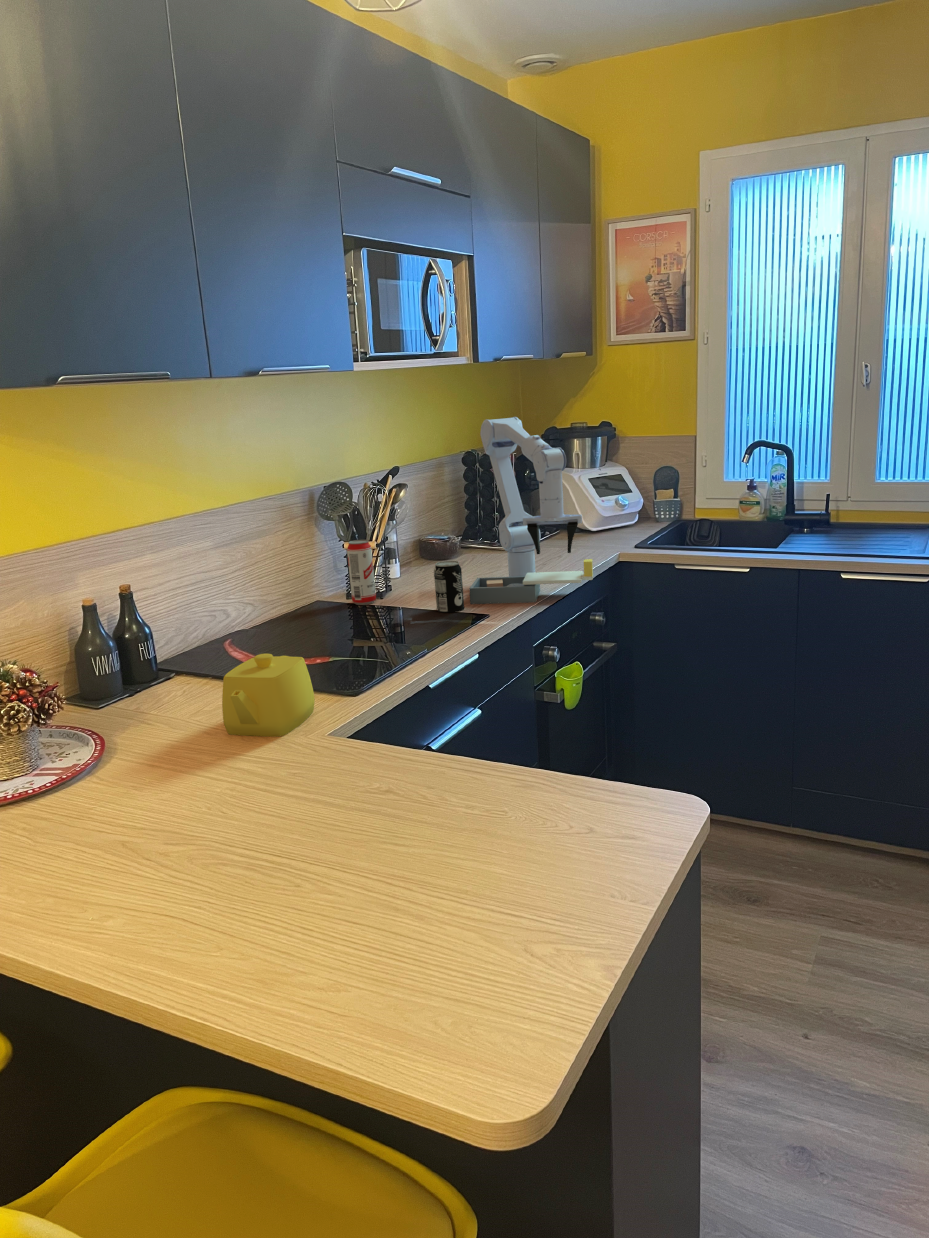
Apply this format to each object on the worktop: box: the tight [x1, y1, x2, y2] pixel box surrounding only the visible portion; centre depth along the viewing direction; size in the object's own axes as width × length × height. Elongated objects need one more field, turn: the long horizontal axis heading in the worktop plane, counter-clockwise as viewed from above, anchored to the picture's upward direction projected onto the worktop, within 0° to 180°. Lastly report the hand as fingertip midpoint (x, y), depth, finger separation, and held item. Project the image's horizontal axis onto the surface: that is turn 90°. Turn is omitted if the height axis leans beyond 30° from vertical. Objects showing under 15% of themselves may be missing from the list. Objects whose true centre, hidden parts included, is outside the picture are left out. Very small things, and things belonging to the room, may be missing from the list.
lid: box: [523, 558, 594, 585], centre depth 222 cm, size 10×17×4 cm, turn 80°
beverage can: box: [433, 560, 465, 614], centre depth 216 cm, size 7×7×12 cm
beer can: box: [346, 539, 377, 606], centre depth 232 cm, size 6×6×16 cm
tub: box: [468, 576, 541, 605], centre depth 225 cm, size 12×16×4 cm
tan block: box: [487, 580, 503, 587], centre depth 228 cm, size 4×4×4 cm
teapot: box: [221, 653, 315, 738], centre depth 150 cm, size 20×12×12 cm, turn 165°
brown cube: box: [506, 583, 527, 587], centre depth 222 cm, size 4×4×4 cm
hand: (553, 552), depth 226 cm, fingers open, 7 cm apart
